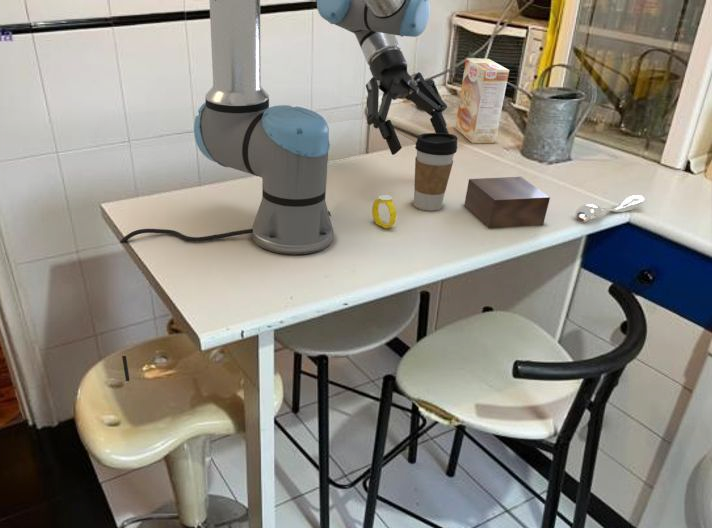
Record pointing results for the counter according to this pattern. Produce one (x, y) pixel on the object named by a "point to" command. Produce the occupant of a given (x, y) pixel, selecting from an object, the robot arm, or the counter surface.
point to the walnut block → (506, 202)
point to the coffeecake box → (481, 100)
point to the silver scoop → (593, 211)
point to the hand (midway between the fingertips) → (422, 147)
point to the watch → (392, 210)
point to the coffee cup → (433, 168)
